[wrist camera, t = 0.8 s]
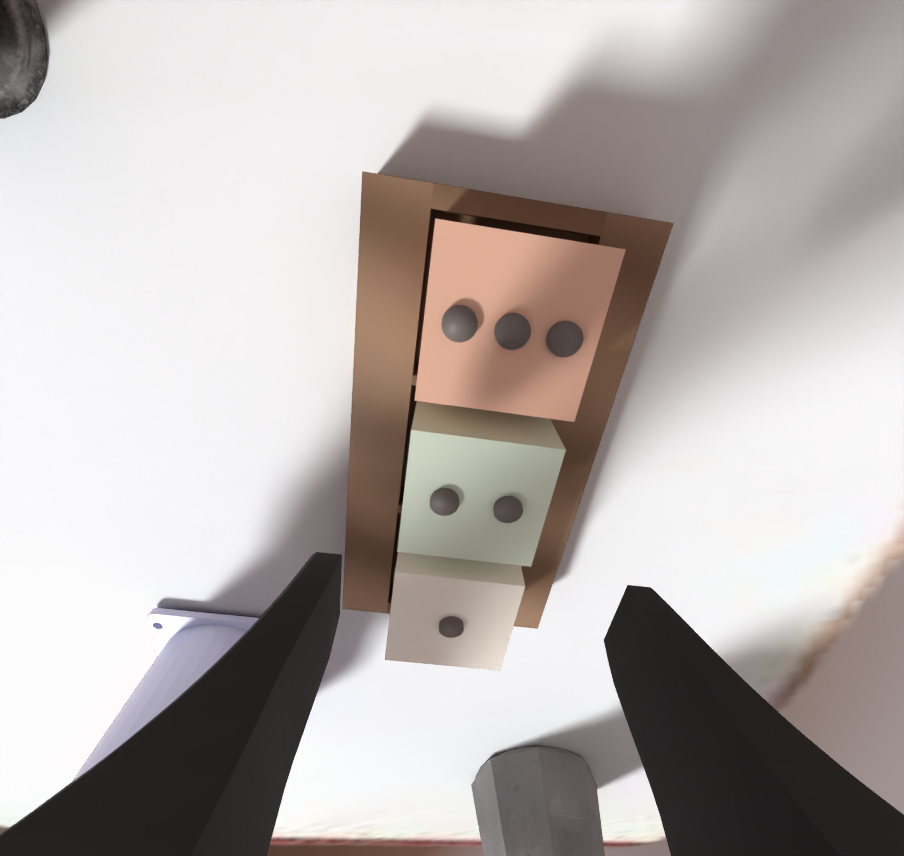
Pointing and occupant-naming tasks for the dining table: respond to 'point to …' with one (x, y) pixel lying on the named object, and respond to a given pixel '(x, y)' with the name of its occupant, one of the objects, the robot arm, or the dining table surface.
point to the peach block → (512, 319)
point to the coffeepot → (537, 804)
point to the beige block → (452, 611)
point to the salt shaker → (20, 55)
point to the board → (398, 350)
